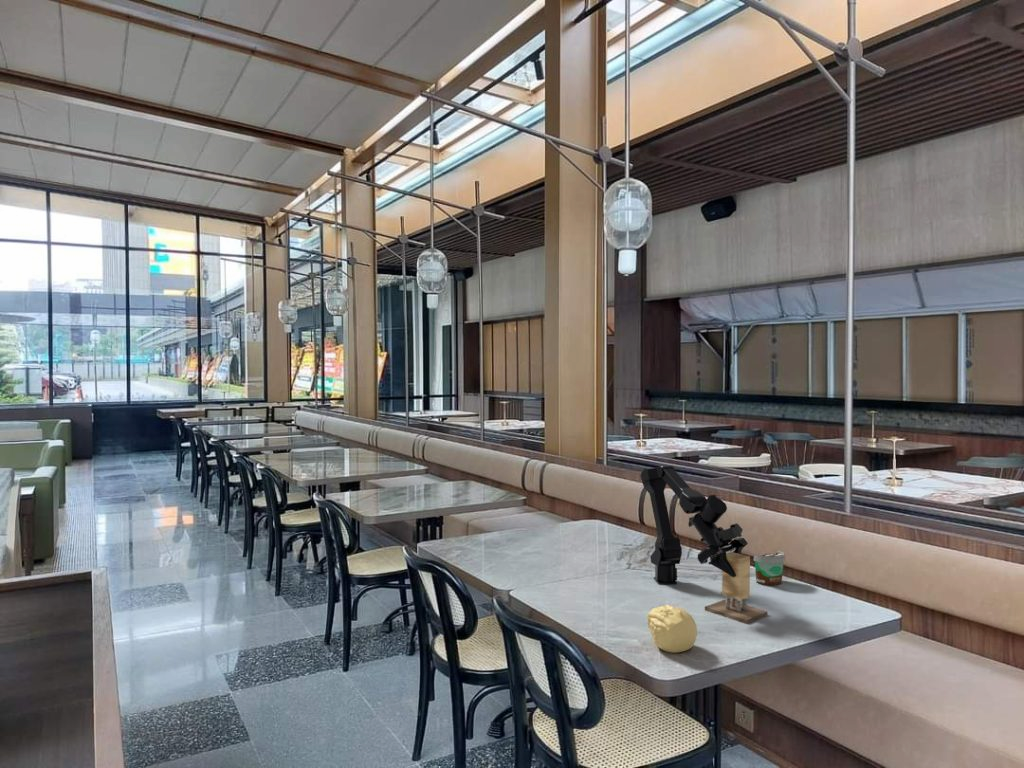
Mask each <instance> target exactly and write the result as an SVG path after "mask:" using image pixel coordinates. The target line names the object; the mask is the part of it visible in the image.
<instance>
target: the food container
mask: <svg viewBox="0 0 1024 768" xmlns="http://www.w3.org/2000/svg"><path fill="white" fill-rule="evenodd" d="M753 561H754V566H755V567H754V568H755V581H756V584H757V583H758V584H757V585H760V586H761V585H762V586H768V587H777V586H780V585H782V584H783V583H782V580H783V572H784V571H783V570H784V563H785V562H786V555H785V553H784V552H783V551H781V550H777V552H775V553H765V554H763V555H762V554H761V555H758V554H754V556H753Z"/></svg>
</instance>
